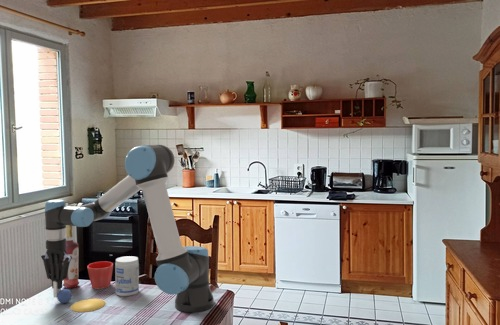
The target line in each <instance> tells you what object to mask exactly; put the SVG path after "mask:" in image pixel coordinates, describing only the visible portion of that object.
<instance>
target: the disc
mask: <svg viewBox="0 0 500 325" xmlns="http://www.w3.org/2000/svg"><path fill="white" fill-rule="evenodd" d="M106 304H107V303H106V301H105V299H100V298H87V299H82V300H79V301H76V302H74V303H72V304H71V305H70V310H71V311H73V312H77V313H88V312H94V311H97V310H99V309H101V308H103V307H105V306H106Z"/></svg>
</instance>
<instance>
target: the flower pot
mask: <svg viewBox="0 0 500 325" xmlns="http://www.w3.org/2000/svg"><path fill="white" fill-rule="evenodd" d="M86 268H87V273H88V277H89V281H90V285H91V288H93V289H96V290H100V289H107V288H109V287H110V286H111V282H112V276H113V270H114V262H111V261H107V260H105V261H95V262H92V263H91V262H90V263H89V264H88V265H87V267H86Z"/></svg>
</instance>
